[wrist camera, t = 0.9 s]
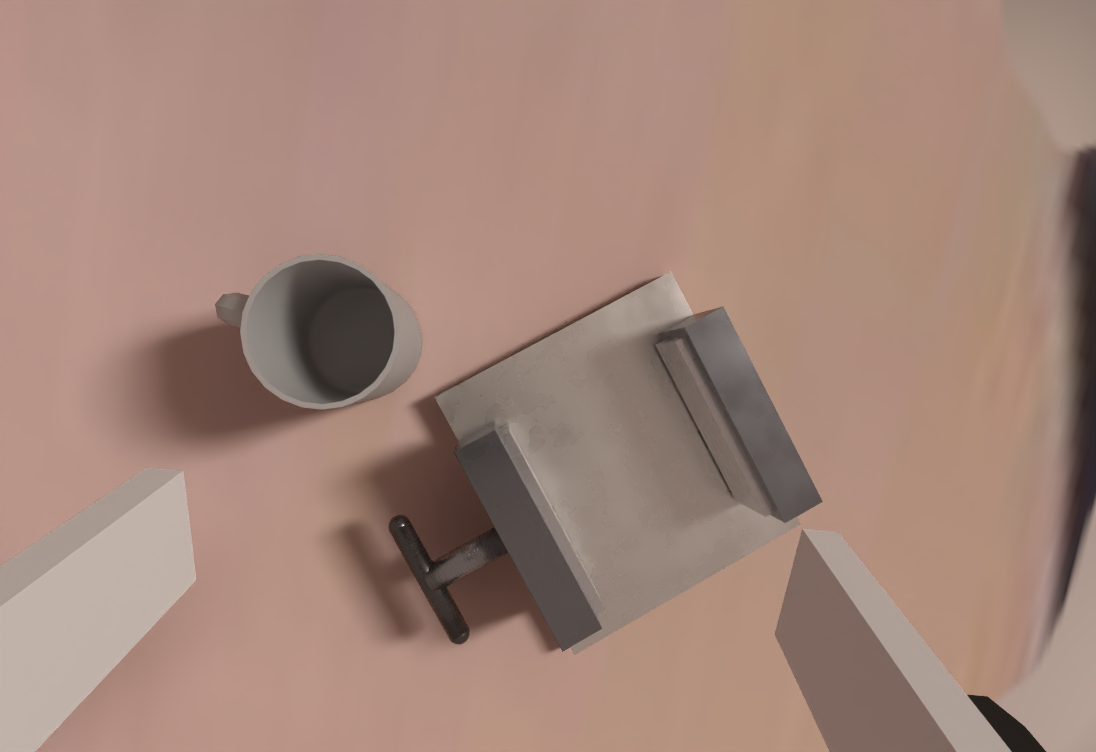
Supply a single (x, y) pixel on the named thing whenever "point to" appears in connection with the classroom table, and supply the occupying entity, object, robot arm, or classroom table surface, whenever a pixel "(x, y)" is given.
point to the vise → (617, 466)
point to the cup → (325, 332)
